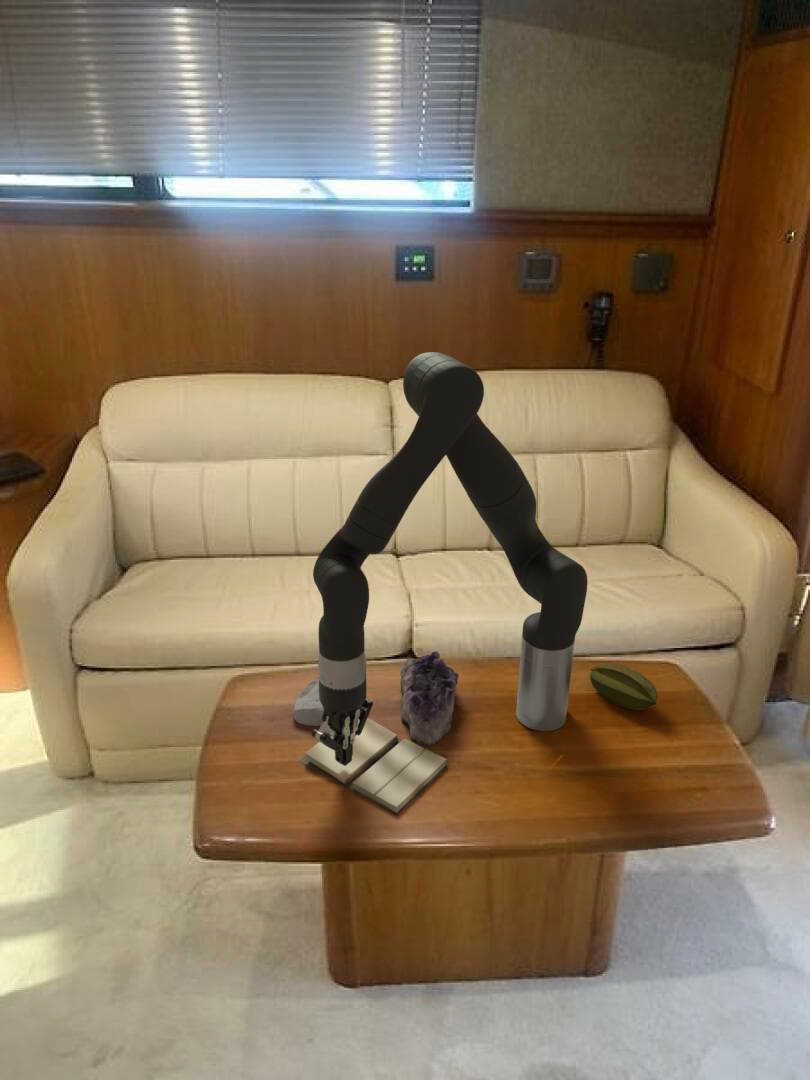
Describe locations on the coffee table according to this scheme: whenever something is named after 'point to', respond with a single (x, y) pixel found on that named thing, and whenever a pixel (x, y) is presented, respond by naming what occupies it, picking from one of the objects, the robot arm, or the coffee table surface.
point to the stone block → (309, 706)
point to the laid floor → (394, 775)
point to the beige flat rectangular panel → (354, 752)
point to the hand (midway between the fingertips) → (344, 761)
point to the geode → (428, 697)
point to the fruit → (623, 686)
